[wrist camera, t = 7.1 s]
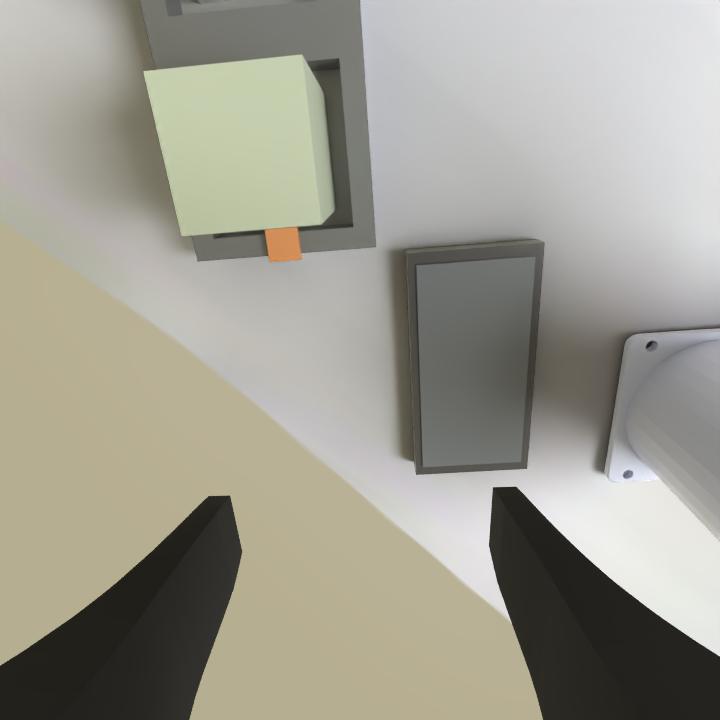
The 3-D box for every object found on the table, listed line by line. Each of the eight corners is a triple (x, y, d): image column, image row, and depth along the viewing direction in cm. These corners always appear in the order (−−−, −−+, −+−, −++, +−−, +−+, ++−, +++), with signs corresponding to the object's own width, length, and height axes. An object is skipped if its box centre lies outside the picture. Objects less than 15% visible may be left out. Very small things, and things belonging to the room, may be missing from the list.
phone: (535, 239, 19) (545, 242, 18) (520, 456, 23) (527, 470, 22) (405, 249, 19) (407, 253, 18) (414, 462, 23) (416, 476, 22)
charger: (336, 209, 18) (321, 224, 12) (239, 217, 18) (181, 236, 12) (325, 94, 16) (301, 52, 11) (219, 104, 16) (142, 68, 11)
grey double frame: (343, -233, 13) (339, -310, 11) (375, 244, 19) (376, 253, 17) (120, -203, 14) (74, -272, 12) (215, 257, 19) (196, 268, 17)
